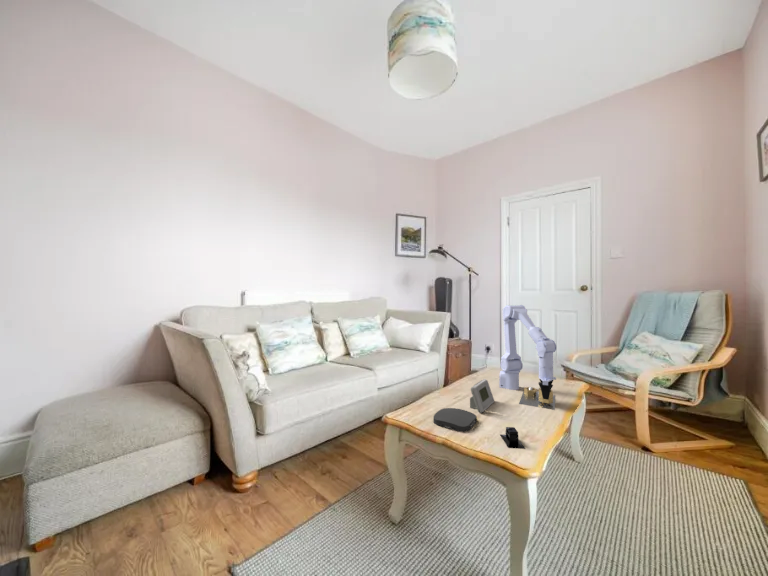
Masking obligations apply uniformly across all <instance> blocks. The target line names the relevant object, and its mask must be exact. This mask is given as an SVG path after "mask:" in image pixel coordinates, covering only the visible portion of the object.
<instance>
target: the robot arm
mask: <svg viewBox="0 0 768 576" xmlns="http://www.w3.org/2000/svg"><path fill="white" fill-rule="evenodd" d="M502 320H503V332H504V333H503V334H504V336H503V337H504V347H505V349H504V350H505V353H504V354H503V355H502V356H500V357H501V360H500V369H501V370H500V371H499V383H498V385H499V388H501V389H507V390H512V391H515V390H519V389H520V373H521V371H522V369H523V367H524V365H523V361H522V357H521V355H519V354H518V352H517V341H516V338H517V337H516V326H515V323H516V322H517V321H520V322H521V324H522V325H523V326H524V327H525V328H527V330H528V335H529V337H530V338H531V339H532V341H533V342H534V343H535V349H536V351H537V356H538V378H539V381H538V385H539V388H541V392H542V397H543V399H547V400H548V399H549V395H550V391H551V390H552V388H553V386H554V384H553V383H554V380H557V377H556V376H554V353H555V352H556V351H557V343H556V341H555V340H554V339H552V338H551V339H550V338H549V337H548V336H547V335H546V334H545V333H544V331H543V330H542V328H541V327H540V326H536V325H535V324H534V322H533V321H532V319H531V318H530V316H529V315H528V309H527V308H526V306H525V305H523V304H519V305H518V304H516V305H513V304H512V305H510V304H509V305H508V304H506V305H505V306H504V307H503V308H502Z"/></svg>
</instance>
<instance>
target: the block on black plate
mask: <svg viewBox="0 0 768 576" xmlns="http://www.w3.org/2000/svg"><path fill="white" fill-rule="evenodd" d="M499 436H500V437H501V439H502V440H503V442H504V443H505V445H506V447H507V448H508V449H520V450H521V449H524V450H526V447H525V446H524V444H522V442H521V440H520V439H519V431H518V430H517V429H516V427H514V426H513V427H512V426H509V427H508V426H505V434H499Z"/></svg>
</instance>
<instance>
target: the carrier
mask: <svg viewBox="0 0 768 576" xmlns="http://www.w3.org/2000/svg"><path fill="white" fill-rule="evenodd" d="M518 404H519V405H523V406H530V407H534V408H535V407H536V408H541V409H547V410H552V411H555V410H556V395H554V394H553V403H549V404H548V403H543V402H540V401H539V390H538V388H535V387H531V386H526V387H524V388H523V391H522V394H521V397H520V400H519V403H518Z"/></svg>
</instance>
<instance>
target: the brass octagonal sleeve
mask: <svg viewBox="0 0 768 576" xmlns="http://www.w3.org/2000/svg"><path fill="white" fill-rule="evenodd" d="M538 391H539V401H540V402H543V403H548V404H549V403H553V395H554V390H553V389H551V391H550V395H549V399H548V400H547V399H543V397H542V392H541V388H540V387H539V388H538Z"/></svg>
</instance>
